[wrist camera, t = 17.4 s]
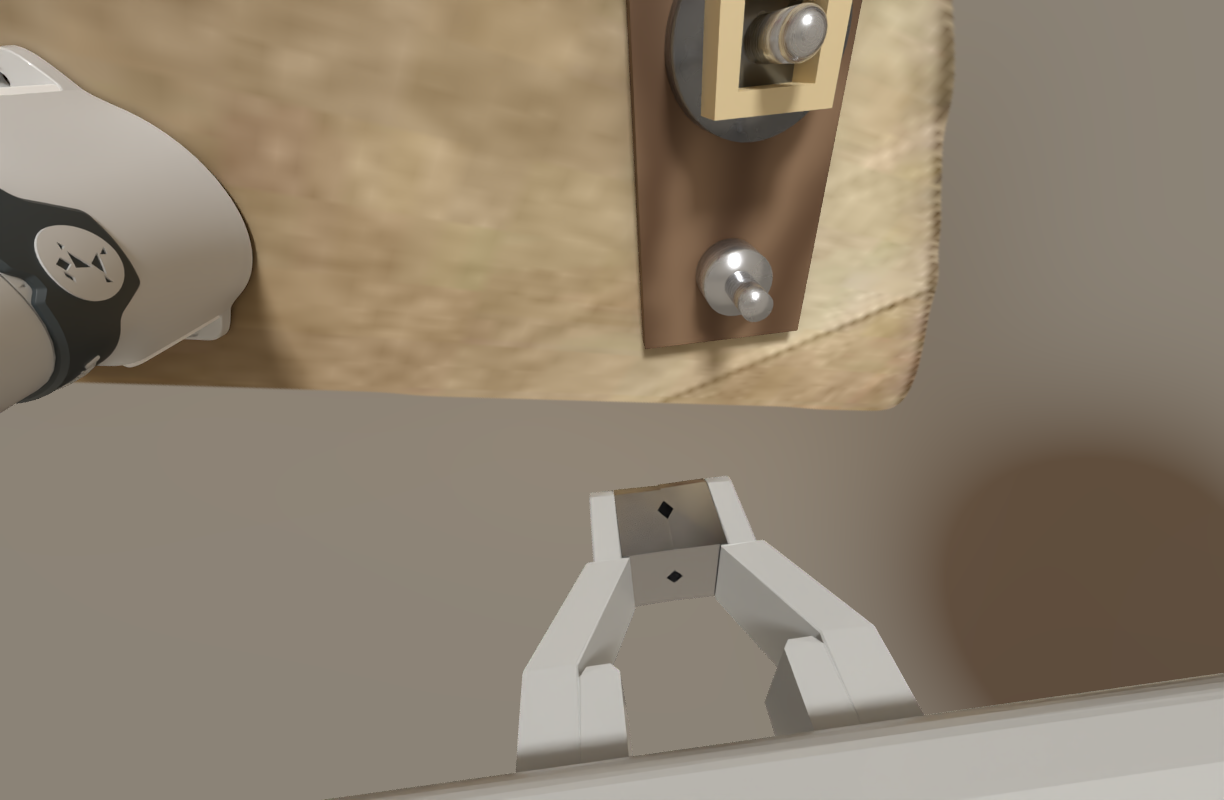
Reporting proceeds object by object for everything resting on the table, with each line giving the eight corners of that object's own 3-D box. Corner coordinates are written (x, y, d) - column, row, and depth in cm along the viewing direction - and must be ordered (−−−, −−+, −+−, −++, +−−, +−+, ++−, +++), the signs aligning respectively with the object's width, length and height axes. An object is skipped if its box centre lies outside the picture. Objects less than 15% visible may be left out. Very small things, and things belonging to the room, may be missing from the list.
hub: (665, 144, 30) (698, 168, 23) (663, -67, 24) (707, -126, 16) (809, 128, 30) (887, 147, 23) (843, -86, 24) (966, -152, 17)
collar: (700, 116, 26) (714, 120, 24) (705, -37, 22) (723, -50, 20) (807, 104, 26) (832, 107, 24) (832, -50, 22) (864, -64, 20)
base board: (643, 340, 41) (645, 349, 39) (621, -110, 24) (624, -119, 22) (790, 322, 41) (797, 330, 40) (874, -136, 24) (890, -146, 23)
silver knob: (694, 303, 37) (718, 344, 32) (696, 242, 34) (723, 276, 28) (754, 296, 37) (788, 336, 32) (762, 234, 34) (801, 266, 29)
